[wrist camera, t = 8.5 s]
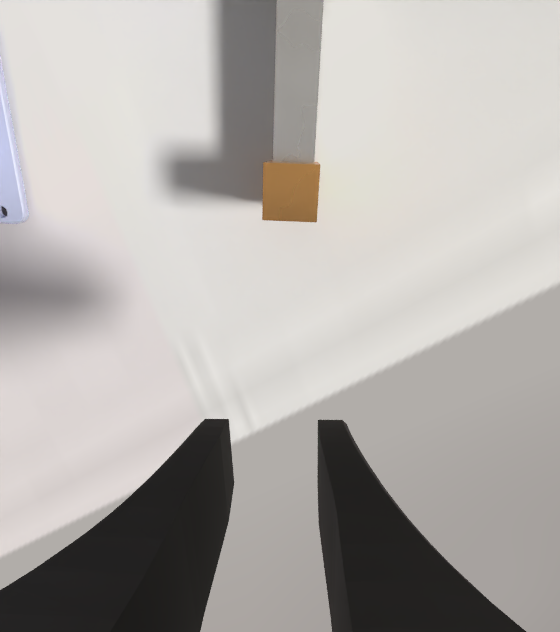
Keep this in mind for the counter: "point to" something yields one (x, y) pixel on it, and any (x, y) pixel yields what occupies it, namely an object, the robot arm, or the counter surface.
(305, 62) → the lock pin
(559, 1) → the counter surface
